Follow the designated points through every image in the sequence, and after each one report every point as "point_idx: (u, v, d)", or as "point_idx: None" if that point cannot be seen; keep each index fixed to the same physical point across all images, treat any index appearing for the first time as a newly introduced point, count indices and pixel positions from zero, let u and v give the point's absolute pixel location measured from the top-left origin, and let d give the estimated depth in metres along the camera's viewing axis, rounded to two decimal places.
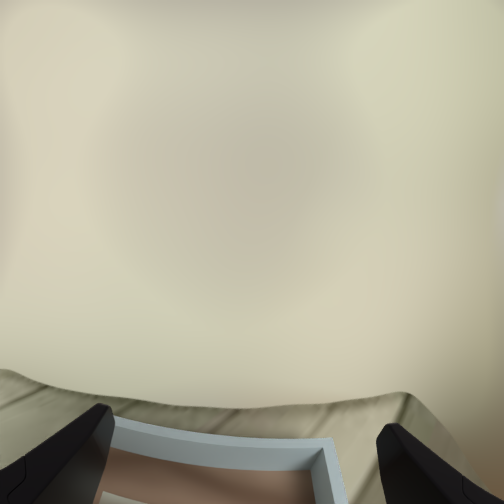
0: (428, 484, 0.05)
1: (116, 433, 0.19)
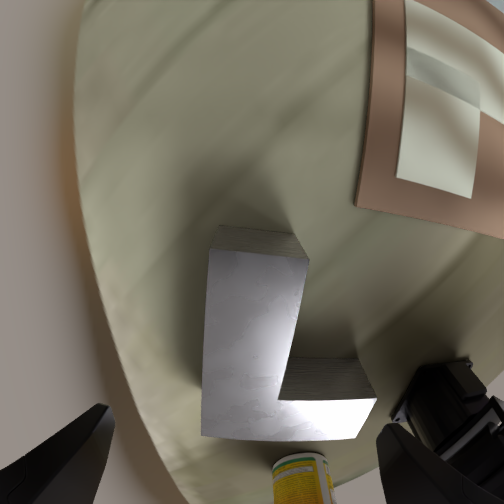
0: (428, 484, 0.05)
1: None
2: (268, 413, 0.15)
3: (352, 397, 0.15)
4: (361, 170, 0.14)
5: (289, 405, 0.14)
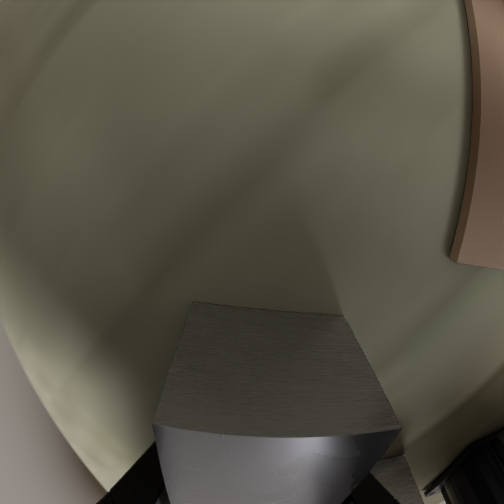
0: (350, 503, 0.05)
1: None
2: None
3: None
4: (468, 192, 0.06)
5: None
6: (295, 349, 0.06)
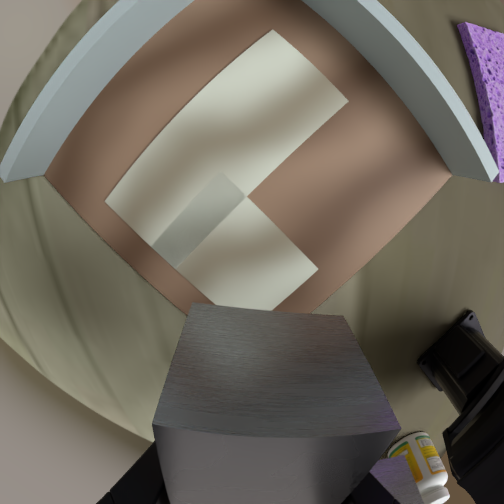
0: (350, 503, 0.05)
1: (35, 146, 0.12)
2: None
3: None
4: None
5: None
6: (295, 349, 0.06)
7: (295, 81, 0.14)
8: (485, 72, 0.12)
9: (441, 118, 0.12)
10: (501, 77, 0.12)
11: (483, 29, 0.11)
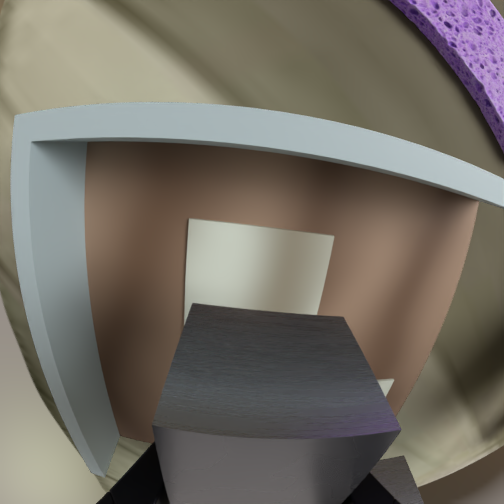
0: (350, 503, 0.05)
1: (101, 446, 0.13)
2: None
3: None
4: None
5: None
6: (295, 350, 0.06)
7: (263, 263, 0.12)
8: (446, 31, 0.08)
9: (453, 190, 0.09)
10: (461, 19, 0.08)
11: None
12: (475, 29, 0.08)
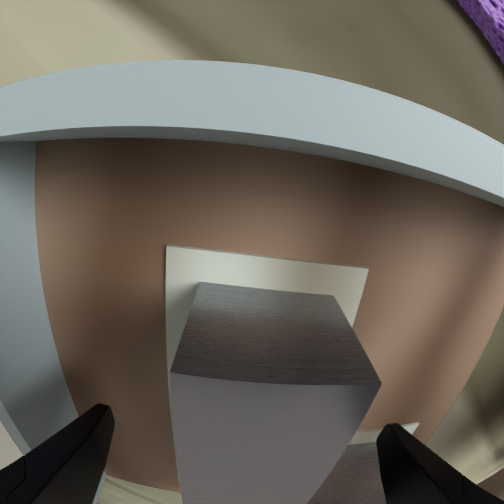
0: (428, 484, 0.05)
1: None
2: None
3: None
4: None
5: None
6: (290, 319, 0.07)
7: None
8: (492, 10, 0.05)
9: None
10: None
11: None
12: None
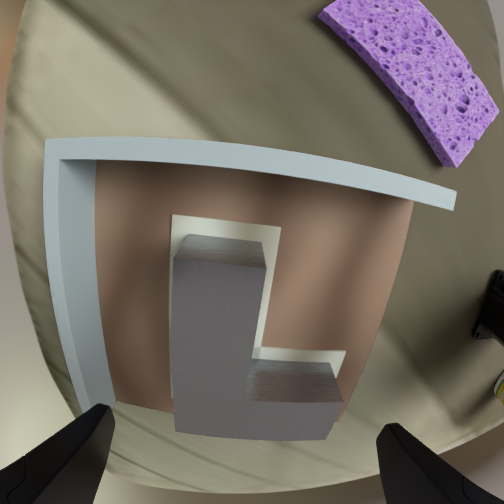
0: (428, 484, 0.05)
1: None
2: (236, 412, 0.15)
3: (318, 400, 0.16)
4: None
5: (256, 405, 0.15)
6: (231, 247, 0.15)
7: None
8: (380, 55, 0.13)
9: None
10: (400, 42, 0.12)
11: None
12: (413, 50, 0.12)
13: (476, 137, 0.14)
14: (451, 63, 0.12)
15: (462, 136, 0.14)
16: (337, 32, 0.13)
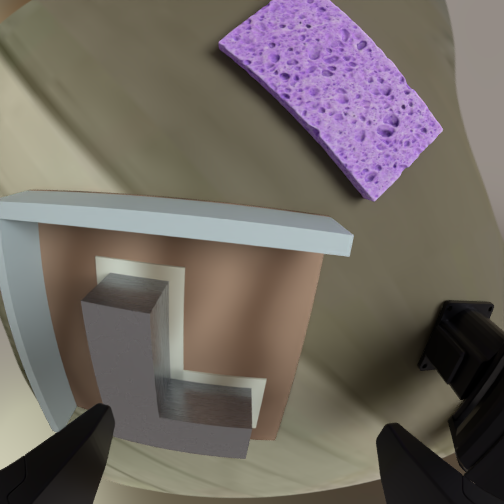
0: (428, 484, 0.05)
1: (58, 408, 0.18)
2: (156, 426, 0.16)
3: (226, 424, 0.16)
4: (253, 437, 0.23)
5: (170, 422, 0.16)
6: (135, 288, 0.16)
7: None
8: (279, 84, 0.14)
9: None
10: (307, 64, 0.13)
11: (249, 21, 0.12)
12: (324, 71, 0.13)
13: (406, 164, 0.15)
14: (376, 79, 0.13)
15: (384, 164, 0.15)
16: (238, 63, 0.14)
